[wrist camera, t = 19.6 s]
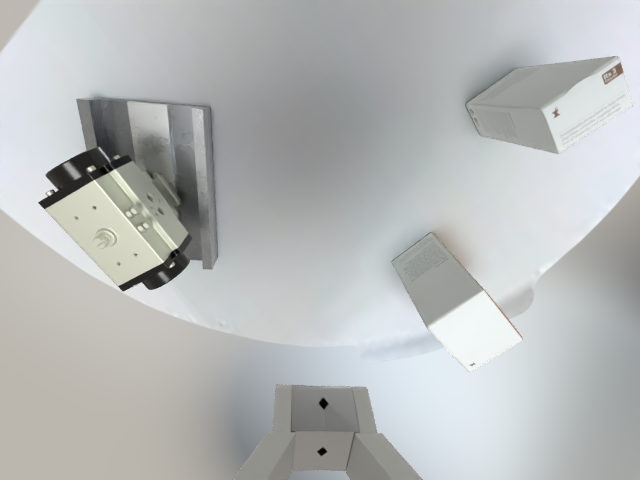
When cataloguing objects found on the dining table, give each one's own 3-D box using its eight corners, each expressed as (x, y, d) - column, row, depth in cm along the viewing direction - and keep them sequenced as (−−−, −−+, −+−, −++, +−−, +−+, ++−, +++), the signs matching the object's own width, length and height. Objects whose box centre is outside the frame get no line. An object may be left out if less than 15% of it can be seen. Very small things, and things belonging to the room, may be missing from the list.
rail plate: (94, 97, 33) (76, 98, 30) (210, 107, 34) (202, 109, 31) (122, 252, 40) (110, 265, 37) (217, 256, 41) (212, 269, 38)
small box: (464, 271, 44) (525, 340, 32) (424, 299, 46) (469, 375, 34) (431, 229, 41) (485, 289, 29) (389, 260, 43) (424, 329, 31)
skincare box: (480, 137, 37) (557, 161, 26) (462, 101, 35) (537, 111, 24) (533, 101, 35) (638, 110, 25) (517, 62, 34) (622, 53, 23)
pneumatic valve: (176, 247, 38) (128, 312, 27) (101, 154, 34) (8, 190, 23) (217, 225, 37) (184, 284, 27) (146, 127, 33) (72, 151, 22)
